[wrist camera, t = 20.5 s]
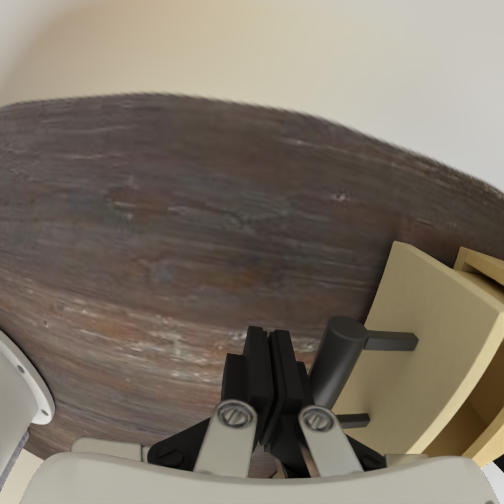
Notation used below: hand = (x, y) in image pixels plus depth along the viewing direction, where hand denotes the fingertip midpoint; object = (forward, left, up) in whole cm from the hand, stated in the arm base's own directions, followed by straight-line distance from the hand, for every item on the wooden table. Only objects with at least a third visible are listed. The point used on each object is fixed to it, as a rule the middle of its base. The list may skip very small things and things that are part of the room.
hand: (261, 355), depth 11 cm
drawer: (+8, -6, -3) cm, 10 cm away
